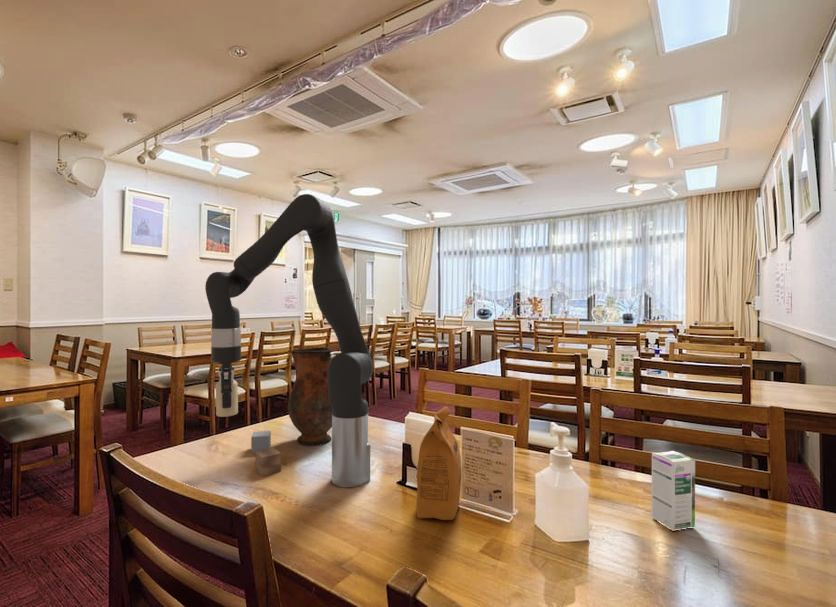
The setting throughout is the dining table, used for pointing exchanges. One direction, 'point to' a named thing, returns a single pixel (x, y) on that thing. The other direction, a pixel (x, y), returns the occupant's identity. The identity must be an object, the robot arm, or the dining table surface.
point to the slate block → (260, 441)
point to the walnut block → (268, 461)
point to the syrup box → (673, 489)
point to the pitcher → (311, 396)
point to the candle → (234, 400)
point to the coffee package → (438, 471)
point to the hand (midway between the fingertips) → (227, 404)
